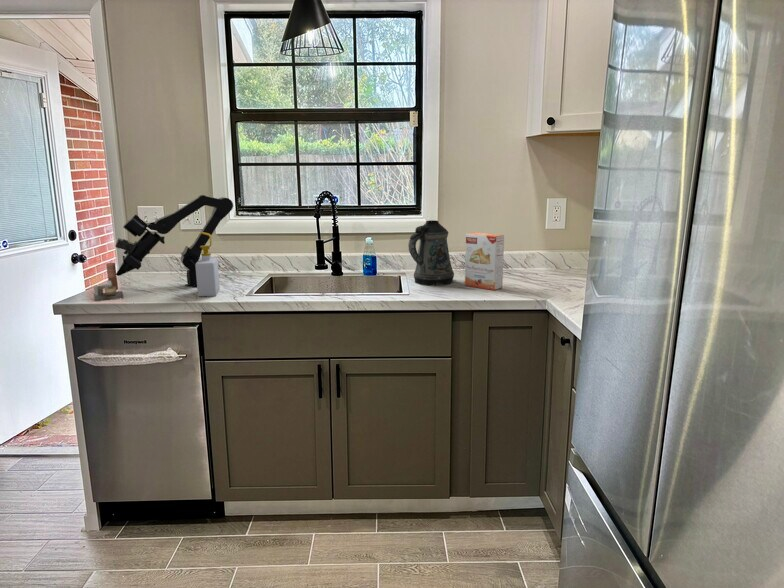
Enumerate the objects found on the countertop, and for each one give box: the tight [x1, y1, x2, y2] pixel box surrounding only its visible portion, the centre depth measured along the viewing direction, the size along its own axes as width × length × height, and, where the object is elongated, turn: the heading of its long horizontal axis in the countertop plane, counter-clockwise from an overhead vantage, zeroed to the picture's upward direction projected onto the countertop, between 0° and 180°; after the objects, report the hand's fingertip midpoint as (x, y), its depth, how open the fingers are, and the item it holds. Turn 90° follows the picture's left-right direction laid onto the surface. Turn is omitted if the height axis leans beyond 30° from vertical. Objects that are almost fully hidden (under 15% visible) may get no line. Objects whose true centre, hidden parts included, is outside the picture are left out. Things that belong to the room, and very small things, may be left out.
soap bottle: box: [195, 231, 221, 297], centre depth 215 cm, size 12×7×23 cm, turn 10°
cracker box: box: [464, 231, 505, 291], centre depth 221 cm, size 14×6×21 cm, turn 47°
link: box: [104, 262, 119, 295], centre depth 214 cm, size 12×4×10 cm, turn 20°
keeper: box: [93, 280, 112, 296], centre depth 211 cm, size 6×7×6 cm
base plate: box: [93, 290, 125, 302], centre depth 212 cm, size 10×9×1 cm
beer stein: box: [407, 219, 455, 287], centre depth 231 cm, size 16×19×25 cm
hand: (117, 275), depth 219 cm, fingers closed, pressing on link
